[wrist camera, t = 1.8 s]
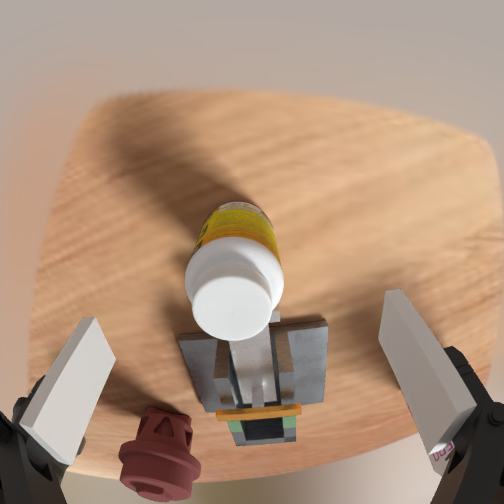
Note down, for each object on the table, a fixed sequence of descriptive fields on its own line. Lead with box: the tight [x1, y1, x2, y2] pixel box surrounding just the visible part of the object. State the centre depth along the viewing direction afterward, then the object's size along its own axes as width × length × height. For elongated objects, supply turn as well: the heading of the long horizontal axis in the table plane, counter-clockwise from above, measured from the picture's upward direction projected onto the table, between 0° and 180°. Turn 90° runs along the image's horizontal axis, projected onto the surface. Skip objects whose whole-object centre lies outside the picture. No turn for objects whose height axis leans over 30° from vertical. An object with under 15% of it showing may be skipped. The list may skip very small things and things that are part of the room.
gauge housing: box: [179, 320, 328, 446], centre depth 27 cm, size 14×12×6 cm
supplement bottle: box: [185, 202, 284, 341], centre depth 19 cm, size 6×6×10 cm
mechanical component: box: [119, 407, 201, 502], centre depth 29 cm, size 12×10×10 cm
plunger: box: [216, 304, 301, 421], centre depth 24 cm, size 7×11×6 cm, turn 7°
